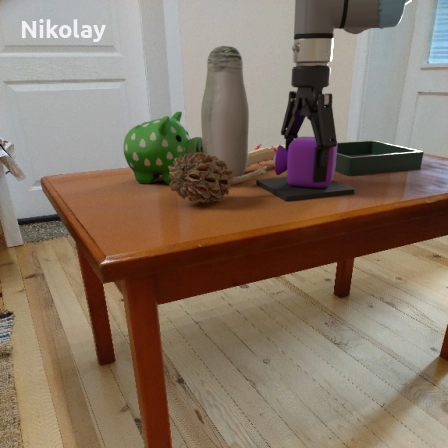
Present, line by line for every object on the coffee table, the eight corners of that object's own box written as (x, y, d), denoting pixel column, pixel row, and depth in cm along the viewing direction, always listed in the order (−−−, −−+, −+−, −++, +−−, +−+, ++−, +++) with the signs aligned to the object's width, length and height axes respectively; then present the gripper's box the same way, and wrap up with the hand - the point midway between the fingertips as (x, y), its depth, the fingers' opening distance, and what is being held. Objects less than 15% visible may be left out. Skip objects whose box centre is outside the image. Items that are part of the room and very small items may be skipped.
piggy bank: (194, 188, 99) (191, 116, 92) (118, 186, 102) (109, 117, 95) (207, 174, 112) (204, 110, 105) (138, 173, 114) (132, 111, 107)
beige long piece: (239, 183, 108) (306, 161, 121) (237, 146, 103) (306, 127, 116) (213, 177, 114) (279, 156, 128) (210, 142, 110) (279, 124, 123)
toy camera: (273, 177, 103) (275, 132, 98) (332, 178, 101) (337, 132, 96) (270, 189, 93) (272, 139, 89) (336, 190, 92) (341, 139, 87)
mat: (354, 193, 93) (355, 189, 92) (286, 201, 88) (286, 196, 88) (317, 178, 106) (317, 173, 106) (255, 184, 102) (256, 179, 101)
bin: (420, 168, 114) (423, 151, 112) (348, 175, 108) (350, 157, 106) (370, 155, 132) (372, 140, 130) (306, 160, 126) (307, 145, 124)
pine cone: (181, 214, 82) (178, 159, 77) (161, 202, 89) (157, 151, 84) (277, 197, 91) (279, 147, 87) (252, 188, 99) (253, 141, 94)
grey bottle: (233, 189, 97) (232, 44, 84) (196, 184, 102) (189, 46, 89) (255, 180, 105) (257, 45, 92) (219, 176, 110) (216, 47, 97)
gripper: (268, 65, 95) (265, 166, 105) (327, 64, 75) (316, 189, 85) (299, 65, 97) (293, 163, 107) (365, 64, 77) (350, 186, 87)
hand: (303, 175), depth 96 cm, fingers closed on toy camera, 13 cm apart
